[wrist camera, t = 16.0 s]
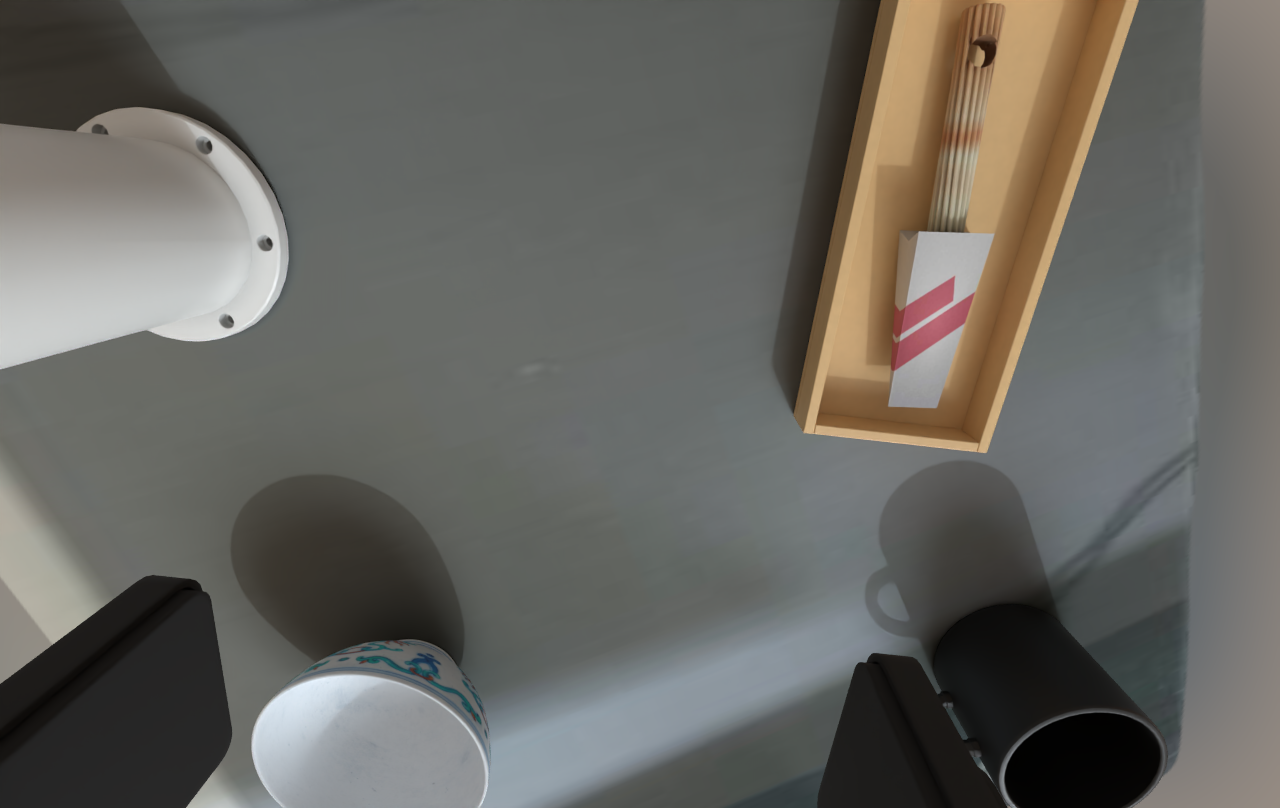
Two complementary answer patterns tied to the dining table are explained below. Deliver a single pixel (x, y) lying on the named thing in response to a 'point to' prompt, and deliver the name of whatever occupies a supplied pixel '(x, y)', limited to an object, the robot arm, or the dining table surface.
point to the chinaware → (375, 732)
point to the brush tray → (999, 204)
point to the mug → (1045, 713)
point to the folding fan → (945, 231)
